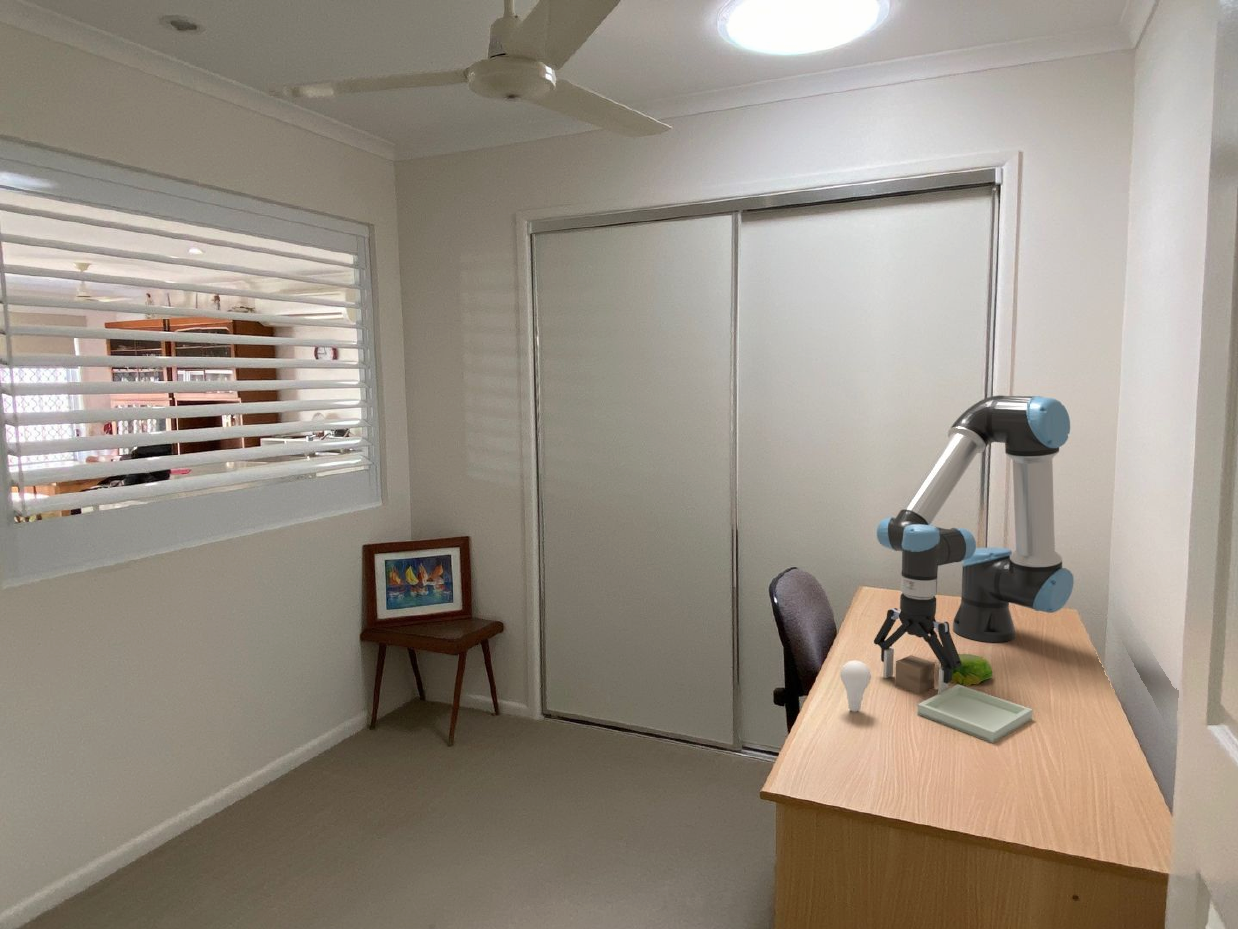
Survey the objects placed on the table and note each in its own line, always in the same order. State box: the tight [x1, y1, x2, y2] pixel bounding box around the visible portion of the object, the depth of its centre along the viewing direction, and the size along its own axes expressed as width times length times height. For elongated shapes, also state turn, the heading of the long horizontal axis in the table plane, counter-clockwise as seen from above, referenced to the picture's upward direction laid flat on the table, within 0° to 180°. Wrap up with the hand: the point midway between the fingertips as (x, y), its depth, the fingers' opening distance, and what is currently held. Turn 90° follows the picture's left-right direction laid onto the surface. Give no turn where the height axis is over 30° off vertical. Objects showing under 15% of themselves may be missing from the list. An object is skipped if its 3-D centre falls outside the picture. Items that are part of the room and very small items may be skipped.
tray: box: [916, 683, 1034, 744], centre depth 161 cm, size 16×16×2 cm
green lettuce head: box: [939, 653, 993, 687], centre depth 182 cm, size 12×11×5 cm
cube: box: [894, 654, 936, 696], centre depth 176 cm, size 6×6×6 cm
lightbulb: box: [839, 660, 872, 713], centre depth 163 cm, size 6×6×11 cm
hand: (914, 686), depth 176 cm, fingers open, 13 cm apart
